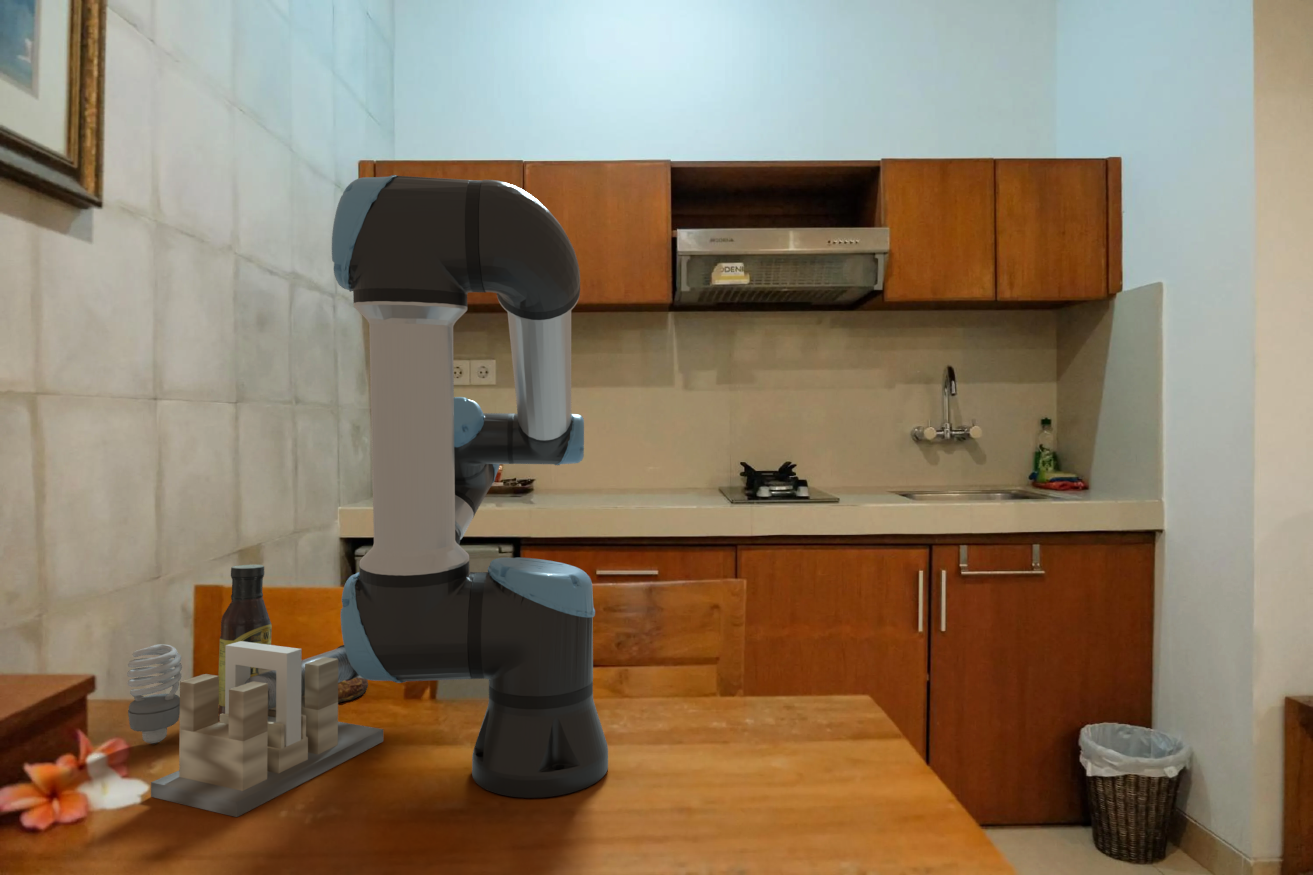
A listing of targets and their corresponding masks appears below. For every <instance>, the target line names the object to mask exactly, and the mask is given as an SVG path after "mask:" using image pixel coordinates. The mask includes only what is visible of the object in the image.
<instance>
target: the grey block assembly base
mask: <svg viewBox="0 0 1313 875" xmlns="http://www.w3.org/2000/svg"><path fill="white" fill-rule="evenodd" d="M268 671H271V670H269V669H262V668H259V674H262V673H265V672H268ZM179 697H180V715H179V746H178V747H179V752H178V753H179V755H178V757H179V760H178V761H179V764H178V765H179V767H178V768H179V770H177V771H175V772H172V773H170V774H167V775H165V776H162V777H160V778H158V779H155V780H152V781H151V782H150V797H151V798H155V799H157V800H158V799H160V800H162V801H163V800H164V801H167V802H172V803H176V804H180V805H184V806H189V807H192V808H196V809H201V810H206V811H209V812H213V813H217V814H223V815H226V816H230V817H234V818H238V817H240V816H242V815H244V814H246V813H247V812H250V811H251V810H253V809H255V808H257V807H259V806H261V805H263V804H265V803H267V802H269V801H271V800H272V799H275V798H277V797H279V796H281V795H283V794H284V793H287V792H289V791H290V790H292V789H294V788H296V787H298V786H300V785H302V784H303V783H305V782H308V781H310V780H311V779H313V778H315V777H317V776H319V775H321V774H323V773H325V772H327V771H329V770H331V769H332V768H335V767H337V766H338V765H341V764H342V763H344V762H347V761H348V760H351V759H352V758H354V757H356V756H358V755H360V754H362V753H364V752H366V751H368V750H369V749H372V748H373V747H375V746H377V745H379V744H381V743H383V742H384V729H383V728H379V727H371V726H366V725H361V724H355V723H348V722H343V721H342V722H341V721H339V703H338V659H335V658H327V657H324V658H321V659H318V660H315V661H312V662H309V663H306V664H305V697H301V740H300V741H298V742H296V743H293V744H291V745H289V746H287V747H286V746H284V724H280V723H274V722H269V721H268V716H270V717H276V707H274V708H272V709H269V710H268V683H262V682H255V681H253V682H250V683H247V684H244V685H241V686H238V687H235V688H232V689H229V714H223V713H222V714H220V716H219V675H215V674H208V673H205V674H204V673H203V674H200V675H197V676H193V677H191V678H188V679H185V680H179Z"/></svg>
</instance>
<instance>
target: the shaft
mask: <svg viewBox="0 0 1313 875" xmlns="http://www.w3.org/2000/svg"><path fill="white" fill-rule="evenodd" d="M324 657H327V658H335V659H338V683H339V682H342V681H344V680H351V679H354V678H356V677H359V676H360V675H358V674H357V672H356V671H355V670H354V669H353V668H352V666H351V664H350V662H349V660H348V657H347V654H346V651H345V647H344V644H343V645H340V646H337V648H335V649H332V650H329V651H325V652H323V653H320V654H317V655H313V656H311V657H307V658H305V659H301V697H303V696H305V664H306V663H309V662H312V661H315V660H318V659H321V658H324ZM253 681H255V682H262V683H268V710H269V709H272V708H274V707H276V670H271V671H268V672H265V673H262V674H259V675H256V676H253V677H250V678H249V679H248V680H247V681H246V682H245V684H247V683H250V682H253Z"/></svg>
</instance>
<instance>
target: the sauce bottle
mask: <svg viewBox="0 0 1313 875" xmlns="http://www.w3.org/2000/svg"><path fill="white" fill-rule="evenodd" d="M230 577H231V580H232V582H231V584H232V586H231V595H230V598H231V599H230V600H231V601H230V603H229V605H228V606H227V608H226V609H225V611H224V612H223V614H222V617H221V621H220V637H219V644H218V645H219V650H218V652H219V654H218V676H219V717H220V714H222V713H223V714H225V650H226V645H228V644H232V643H236V642H239V641H244V642H252V643H259V644H267V645H272V628H273V626H272V625H273V624H272V622H271V619H270V616H269V613H268V611H267V608H266V604H265V601H264V598H263V596H264V593H263V579H264V577H265V566H264V565H263V564H242V565H240V564H239V565H234V566H232V567H231V568H230ZM256 675H259V668H255V667H250V677H253V676H256Z"/></svg>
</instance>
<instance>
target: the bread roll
mask: <svg viewBox="0 0 1313 875" xmlns="http://www.w3.org/2000/svg"><path fill="white" fill-rule="evenodd" d="M368 687H369V680H367V679H365V678H358V677H356V678H354V679H351V680H344V681H342V682H339V683H338V704H339V703H340V704H341V703H342V702H343V703H344V702H347V701H353V700H355V699H357V698H359V697H361V696H363V695H364V694H365V693H366V692H367V690H368ZM303 697H305V696H303Z"/></svg>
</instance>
